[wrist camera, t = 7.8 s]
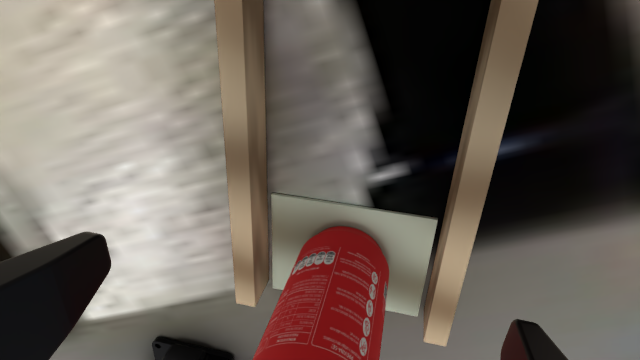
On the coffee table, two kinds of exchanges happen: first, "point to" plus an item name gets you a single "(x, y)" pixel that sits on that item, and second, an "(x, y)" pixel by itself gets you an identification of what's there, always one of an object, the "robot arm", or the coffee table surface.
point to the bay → (383, 225)
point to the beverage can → (331, 301)
